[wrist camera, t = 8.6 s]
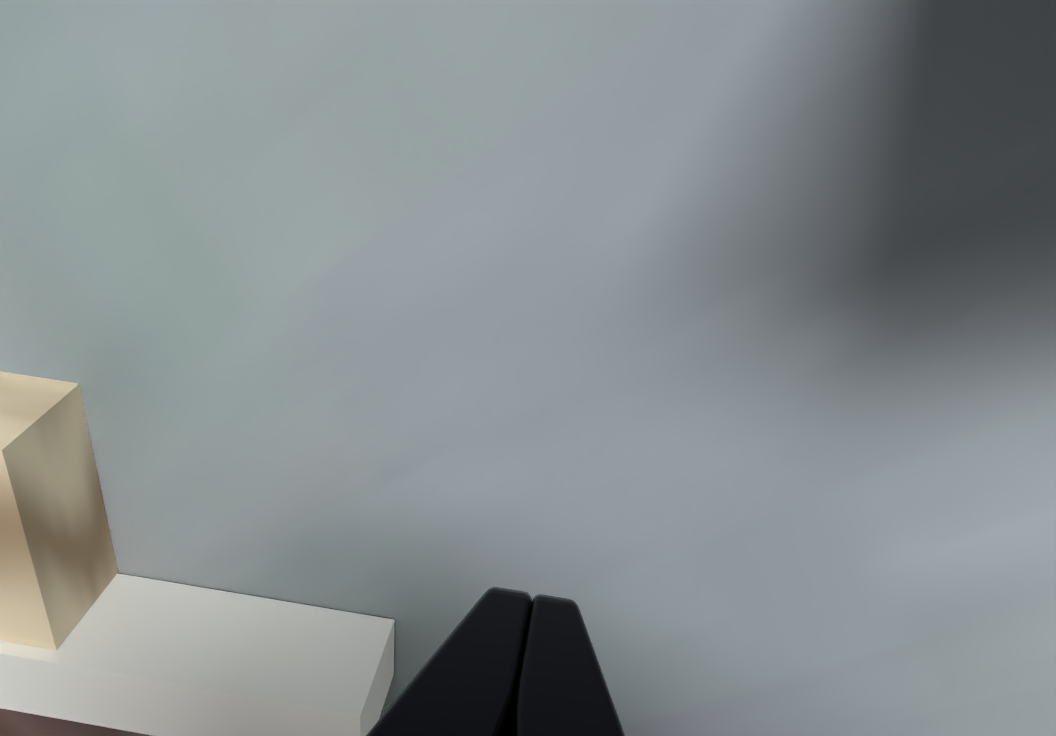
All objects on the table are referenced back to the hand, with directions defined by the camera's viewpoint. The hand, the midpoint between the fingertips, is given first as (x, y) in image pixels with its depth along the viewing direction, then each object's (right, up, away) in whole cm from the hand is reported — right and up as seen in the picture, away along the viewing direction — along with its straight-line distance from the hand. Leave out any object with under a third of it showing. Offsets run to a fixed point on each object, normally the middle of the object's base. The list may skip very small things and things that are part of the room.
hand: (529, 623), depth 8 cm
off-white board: (-14, -5, +19) cm, 24 cm away
